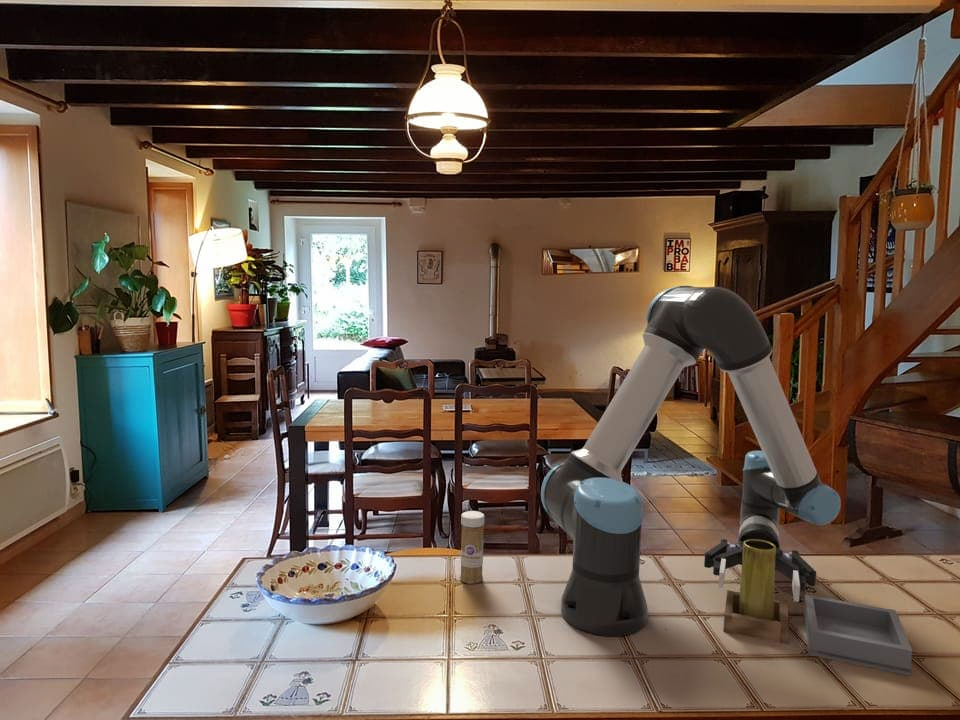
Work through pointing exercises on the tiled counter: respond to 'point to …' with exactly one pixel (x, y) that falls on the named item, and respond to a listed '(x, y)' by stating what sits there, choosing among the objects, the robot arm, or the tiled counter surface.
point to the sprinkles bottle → (472, 547)
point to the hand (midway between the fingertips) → (758, 586)
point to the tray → (856, 634)
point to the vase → (757, 579)
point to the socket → (756, 621)
